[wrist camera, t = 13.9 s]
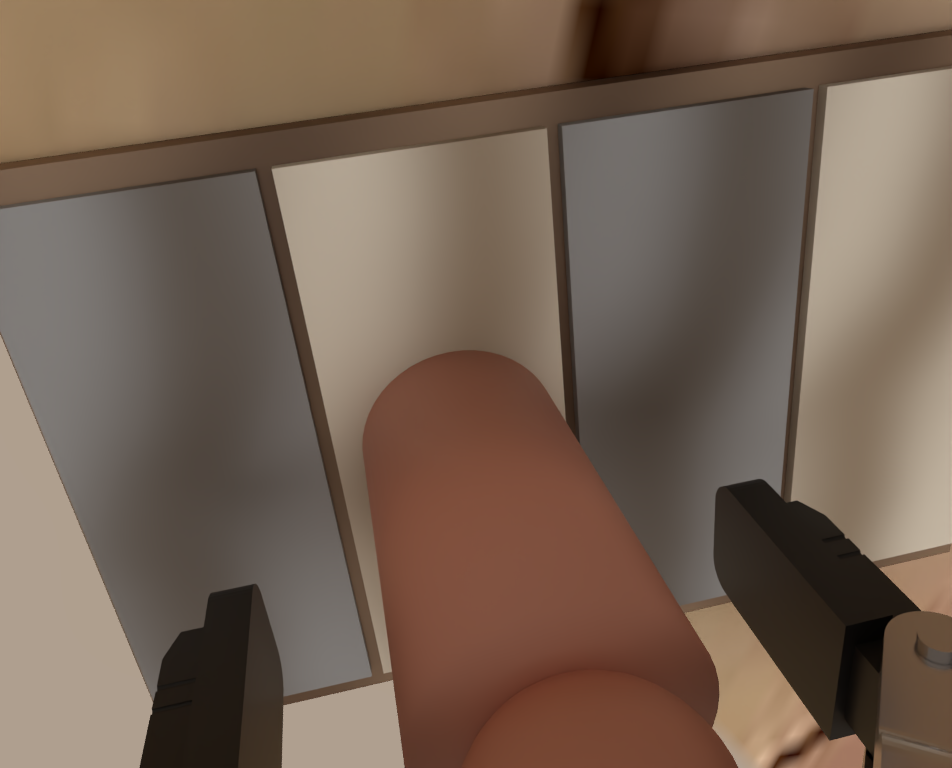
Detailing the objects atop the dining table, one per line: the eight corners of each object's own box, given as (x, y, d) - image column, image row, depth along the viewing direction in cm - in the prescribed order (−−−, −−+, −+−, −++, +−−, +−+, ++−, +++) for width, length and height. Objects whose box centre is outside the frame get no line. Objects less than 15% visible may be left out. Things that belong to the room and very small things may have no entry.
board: (1028, 18, 17) (1072, 20, 16) (930, 534, 24) (956, 557, 23) (-47, 170, 15) (-72, 182, 14) (170, 707, 21) (163, 742, 20)
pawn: (550, 333, 17) (891, 799, 7) (562, 501, 19) (841, 1044, 9) (345, 370, 17) (410, 928, 7) (380, 539, 19) (468, 1161, 9)
